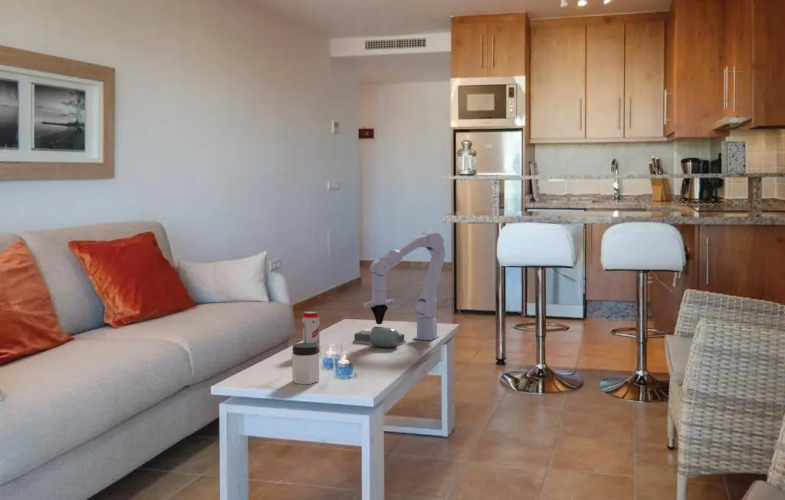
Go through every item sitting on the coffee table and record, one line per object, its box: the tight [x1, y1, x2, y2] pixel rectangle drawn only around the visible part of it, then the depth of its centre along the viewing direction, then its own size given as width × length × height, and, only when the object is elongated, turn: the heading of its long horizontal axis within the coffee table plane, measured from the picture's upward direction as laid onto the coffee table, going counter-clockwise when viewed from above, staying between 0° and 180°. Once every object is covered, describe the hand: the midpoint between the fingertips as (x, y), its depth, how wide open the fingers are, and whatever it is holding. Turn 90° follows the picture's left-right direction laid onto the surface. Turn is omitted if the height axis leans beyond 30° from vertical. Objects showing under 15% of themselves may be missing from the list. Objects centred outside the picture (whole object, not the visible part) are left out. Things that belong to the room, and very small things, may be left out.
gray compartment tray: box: [352, 330, 407, 347], centre depth 317 cm, size 8×20×3 cm, turn 65°
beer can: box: [302, 310, 321, 354], centre depth 295 cm, size 6×6×16 cm
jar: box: [291, 342, 320, 385], centre depth 255 cm, size 9×8×12 cm
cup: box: [370, 326, 400, 348], centre depth 307 cm, size 8×8×10 cm
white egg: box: [360, 328, 372, 334], centre depth 319 cm, size 4×4×3 cm
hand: (379, 323), depth 316 cm, fingers closed
